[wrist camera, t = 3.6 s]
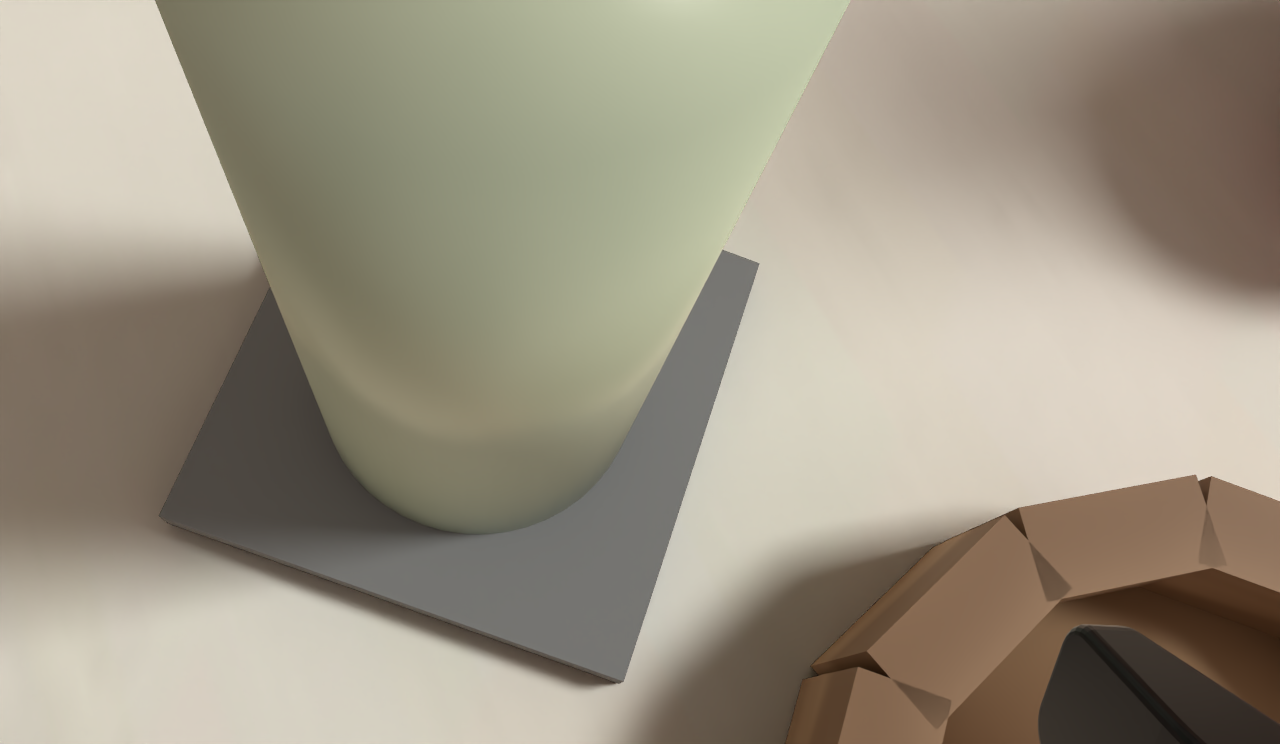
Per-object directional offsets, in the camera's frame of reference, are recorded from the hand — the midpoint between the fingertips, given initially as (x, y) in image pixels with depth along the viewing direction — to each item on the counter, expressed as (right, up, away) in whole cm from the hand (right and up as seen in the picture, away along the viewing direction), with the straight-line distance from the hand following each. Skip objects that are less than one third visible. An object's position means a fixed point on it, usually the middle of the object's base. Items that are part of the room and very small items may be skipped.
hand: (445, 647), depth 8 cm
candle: (-1, +2, +12) cm, 13 cm away
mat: (-2, +2, +13) cm, 13 cm away
